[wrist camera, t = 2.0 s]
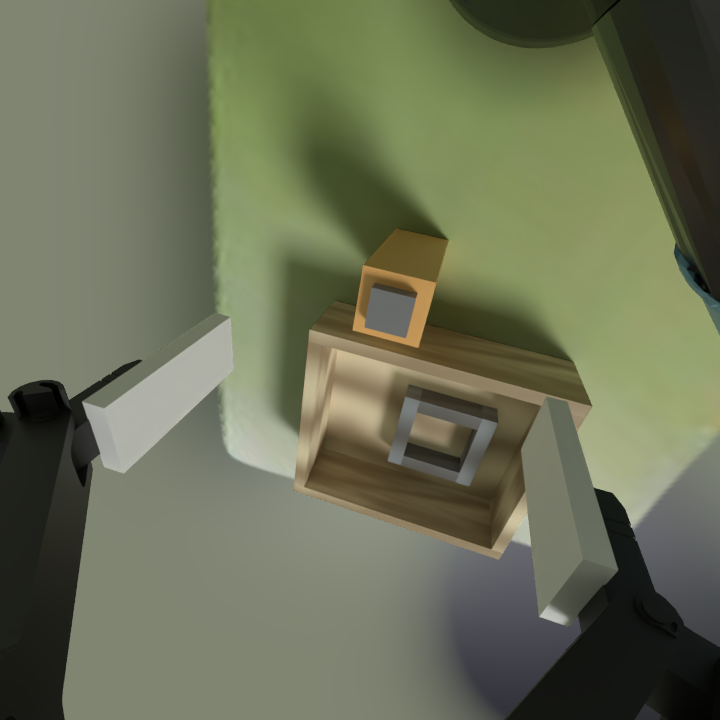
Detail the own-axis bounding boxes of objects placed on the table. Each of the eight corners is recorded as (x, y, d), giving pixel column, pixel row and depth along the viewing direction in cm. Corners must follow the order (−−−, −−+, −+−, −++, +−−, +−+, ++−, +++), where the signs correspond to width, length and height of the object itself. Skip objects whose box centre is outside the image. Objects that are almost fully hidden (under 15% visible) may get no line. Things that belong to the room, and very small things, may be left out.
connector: (396, 228, 29) (359, 269, 20) (448, 240, 29) (434, 287, 20) (386, 278, 31) (348, 336, 22) (434, 290, 31) (416, 354, 22)
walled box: (334, 300, 33) (309, 329, 28) (573, 362, 31) (592, 406, 26) (315, 449, 43) (293, 490, 38) (496, 506, 40) (498, 559, 35)
